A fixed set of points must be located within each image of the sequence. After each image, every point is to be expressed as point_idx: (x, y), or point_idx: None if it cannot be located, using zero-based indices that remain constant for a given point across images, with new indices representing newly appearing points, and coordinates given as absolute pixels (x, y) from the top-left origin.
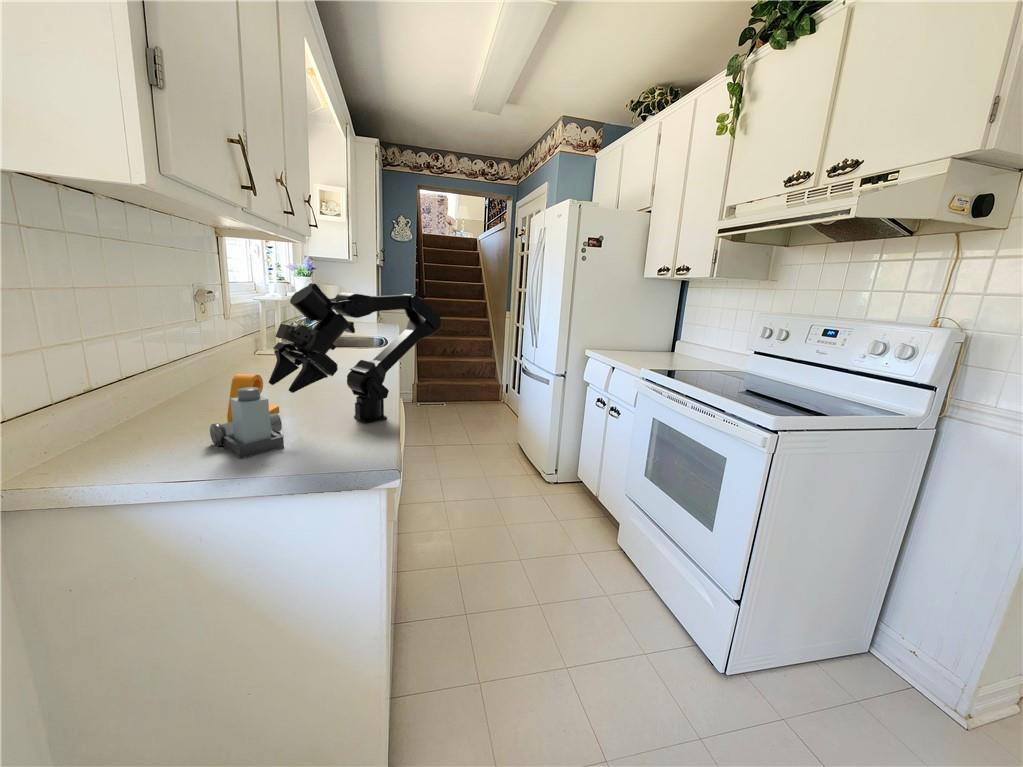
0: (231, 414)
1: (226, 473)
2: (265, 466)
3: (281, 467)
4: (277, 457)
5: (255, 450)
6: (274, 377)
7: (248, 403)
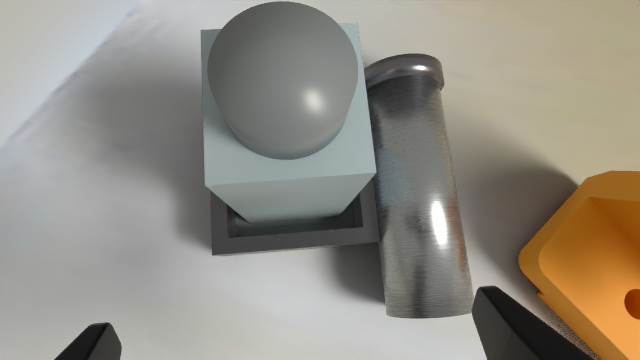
0: (609, 182)
1: (134, 55)
2: (100, 149)
3: (53, 182)
4: (146, 204)
5: None
6: (509, 347)
7: (203, 71)
